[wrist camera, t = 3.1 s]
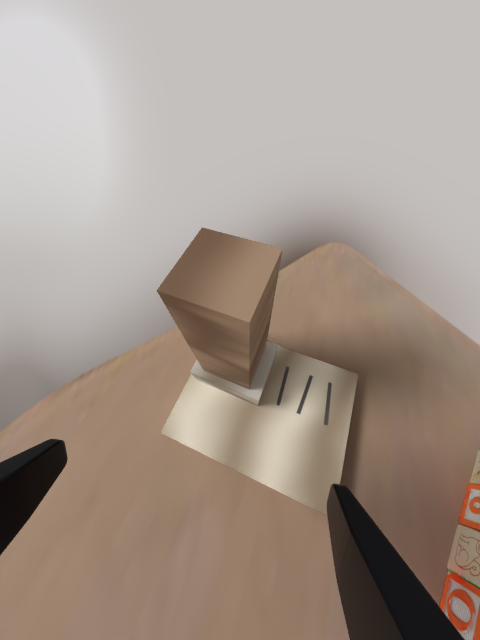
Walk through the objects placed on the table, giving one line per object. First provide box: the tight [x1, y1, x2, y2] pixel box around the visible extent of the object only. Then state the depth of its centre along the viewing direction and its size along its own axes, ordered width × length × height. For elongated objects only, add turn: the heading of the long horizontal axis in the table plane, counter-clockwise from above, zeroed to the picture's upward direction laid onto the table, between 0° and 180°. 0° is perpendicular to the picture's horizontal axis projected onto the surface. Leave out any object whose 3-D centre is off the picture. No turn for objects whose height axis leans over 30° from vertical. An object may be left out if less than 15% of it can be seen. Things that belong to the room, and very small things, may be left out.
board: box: [161, 346, 358, 516], centre depth 20 cm, size 14×11×1 cm
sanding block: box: [157, 228, 282, 406], centre depth 15 cm, size 6×5×14 cm
